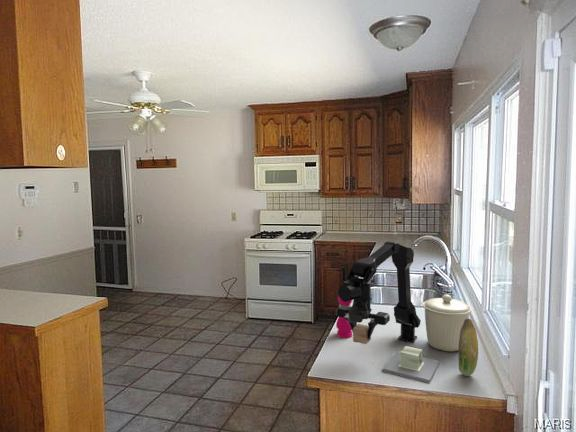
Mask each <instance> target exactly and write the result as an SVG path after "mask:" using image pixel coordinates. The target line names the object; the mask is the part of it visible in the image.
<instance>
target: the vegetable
mask: <svg viewBox="0 0 576 432" xmlns="http://www.w3.org/2000/svg"><path fill="white" fill-rule="evenodd" d="M457 352H458V370H459V373H460V374H461V375H463V376H465V377H469V376H472V375H473V374H474V373H475V371H476V368H477V365H478V359H479V338H478V334H477V329H476V327H475V325H474V322H473V320H472V319H471V318H470V317H469V318H466V319H465V320H464V323H463V325H462V327H461V330H460V338H459V350H458V351H457Z"/></svg>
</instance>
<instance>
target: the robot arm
mask: <svg viewBox="0 0 576 432" xmlns="http://www.w3.org/2000/svg"><path fill="white" fill-rule="evenodd" d="M414 256H415V252H414V250H413V249H412V247H408V246H404V245H401V244H400V243H398V242H394V241H385V242H384V243H383V245H382V246H381V247H379V248H377V249H376V250H375V251H374V252H373V253H372V254H369V256H367V257H363V258H360V259H357V260H355V261H354V262H353V264H352V265H351V268H350V270H349V272H348V274H347V276H346V281H343V282H342V285H340V287H339V289H338V290H337V292H338V293H337V294H338V296H339V297H340V299H341V300H342V301H344V302H347V301H351V300H352V304H351V307H350V306H344V305H342V306H341V307H339V306H338V307H337V309H336V311H335V316H336V317H338V318H339V317H344V316H345V318H344V319H345V320H347V321H348V322H349V324H350V326H351V329H352V330H351V331H352V332H353V328H354V327H355V326H356V325H357V324H360V323H362V322H363V320H370V321H369V322H367V324H368V325H367V326H369V329H368V339H370V337H371V338H372V334H373V332H374V329H375V327H376V326H378V325H380V326H386V325H387V323H389V322H390V319H391V317H390V314H389V313H388V312H382V311H378V312H377V313H371V312H372V307H371V306H372V305H371V302H372V300H373V297H371V295H372V293H371V292H372V284H373V283H375V279H373V277H374V275H376V273H377V271H378V270H377V269H378V267H379V266H381V265H382V264H383V263H384V262H385V261H387V260H389V258H390V257H391V261H392V263H393V265H394V267H395V268H396V277H397V278H396V279H397V297H398V299H397V300H398V302H397V303H396V305H395V306H393V316H394V319H395V323H396V324H400V335H399V336H398V337H397V340H399V341H405V342H410V343H414V342H415V341H416V340H417V338H418V335H415V334H416V328H417V329H418V328H419V327H420V326H421V319H420V317H419V316H418V315H417V311H416V309H417V308H416V307H415V305H414V303H413V302H412V297H411V295H412V293H411V291H412V290H411V276H410V275H411V271H410V267H411V266H412V264H413V262H414Z"/></svg>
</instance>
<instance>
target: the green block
mask: <svg viewBox="0 0 576 432" xmlns="http://www.w3.org/2000/svg"><path fill="white" fill-rule="evenodd" d="M422 357H423V349H421V348H416V347H412V346H407V345H405V346H404V347H403V348H402V350H401V366H404V367H408V368H412V369H416V370H418V369H419V367H420V366H421V364H422Z"/></svg>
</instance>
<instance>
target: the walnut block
mask: <svg viewBox="0 0 576 432" xmlns="http://www.w3.org/2000/svg"><path fill="white" fill-rule="evenodd" d="M368 329H369V325H366V324H360V323H357V325H356V326H355V327H354V328H353V331H352V342H354V343H360V344H362V345H363V344H364V345H367V344H368V343H369V342H370V341H371V340H372V336H371V337H370V339H368Z"/></svg>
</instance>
